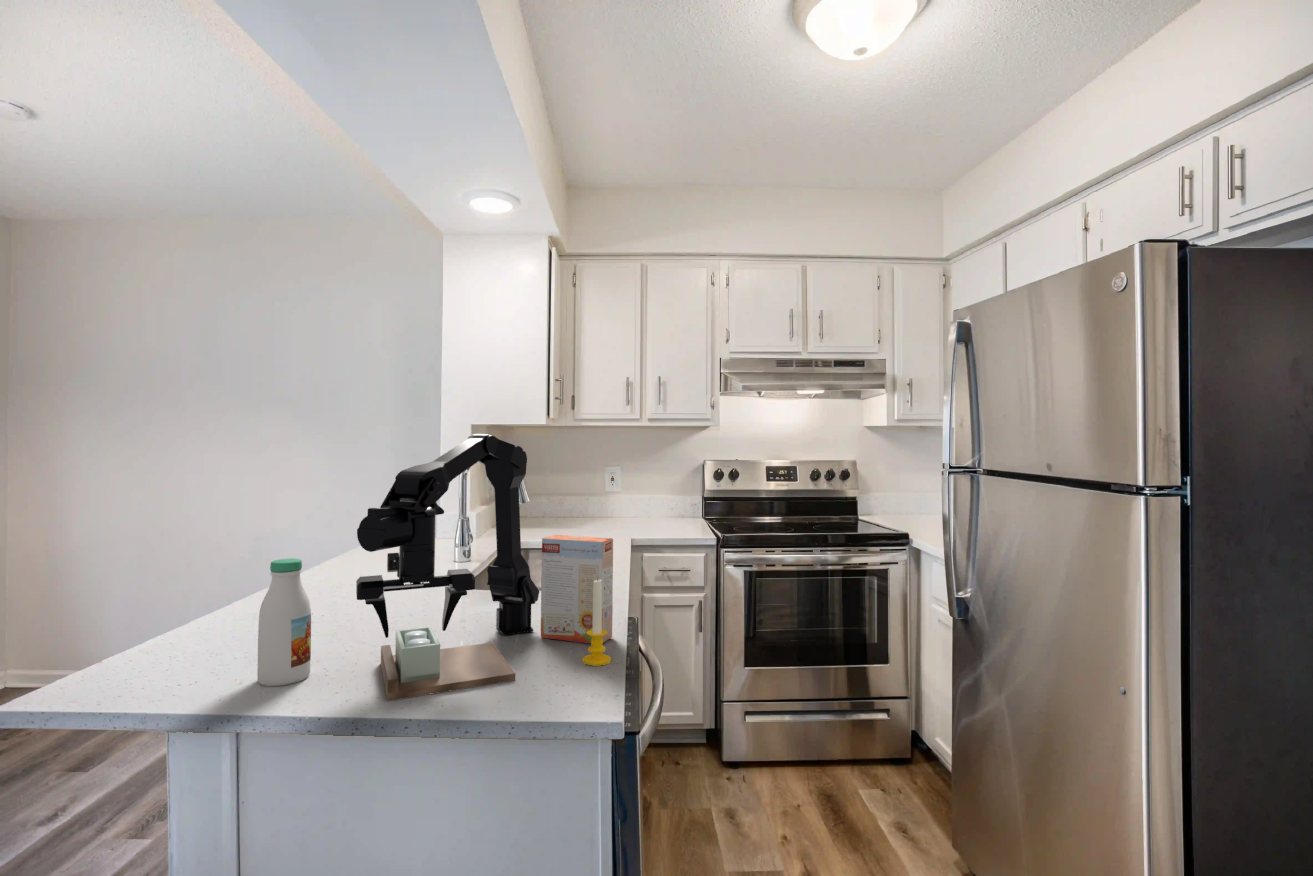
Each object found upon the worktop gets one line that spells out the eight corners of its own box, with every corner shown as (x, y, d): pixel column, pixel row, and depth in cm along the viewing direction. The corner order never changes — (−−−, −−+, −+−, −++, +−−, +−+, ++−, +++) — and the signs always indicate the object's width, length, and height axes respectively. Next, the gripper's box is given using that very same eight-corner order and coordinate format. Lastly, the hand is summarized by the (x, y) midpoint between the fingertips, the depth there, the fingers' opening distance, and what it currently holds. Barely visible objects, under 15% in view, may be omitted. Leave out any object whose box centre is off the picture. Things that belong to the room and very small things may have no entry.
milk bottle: (272, 691, 100) (274, 566, 101) (248, 681, 104) (250, 561, 105) (319, 676, 107) (321, 559, 107) (295, 667, 111) (297, 554, 111)
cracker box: (613, 637, 130) (614, 537, 131) (601, 646, 125) (602, 541, 125) (553, 630, 135) (555, 533, 135) (539, 638, 129) (541, 537, 130)
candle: (584, 667, 113) (586, 581, 113) (580, 657, 118) (581, 575, 118) (613, 665, 115) (614, 579, 115) (607, 655, 120) (608, 573, 120)
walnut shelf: (492, 648, 122) (492, 632, 122) (515, 680, 106) (515, 661, 106) (380, 663, 113) (381, 646, 113) (387, 700, 97) (387, 680, 97)
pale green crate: (430, 656, 114) (431, 626, 114) (439, 677, 104) (440, 644, 104) (395, 661, 111) (395, 630, 111) (400, 683, 101) (401, 649, 101)
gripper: (464, 533, 119) (463, 615, 119) (356, 539, 111) (354, 627, 111) (476, 542, 109) (474, 631, 109) (357, 549, 101) (356, 646, 101)
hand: (415, 633), depth 108 cm, fingers open, 9 cm apart
